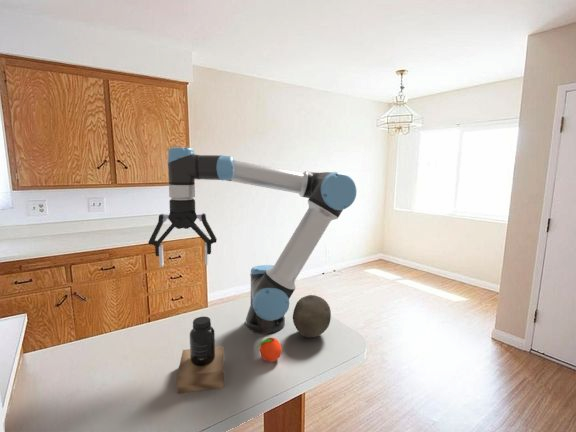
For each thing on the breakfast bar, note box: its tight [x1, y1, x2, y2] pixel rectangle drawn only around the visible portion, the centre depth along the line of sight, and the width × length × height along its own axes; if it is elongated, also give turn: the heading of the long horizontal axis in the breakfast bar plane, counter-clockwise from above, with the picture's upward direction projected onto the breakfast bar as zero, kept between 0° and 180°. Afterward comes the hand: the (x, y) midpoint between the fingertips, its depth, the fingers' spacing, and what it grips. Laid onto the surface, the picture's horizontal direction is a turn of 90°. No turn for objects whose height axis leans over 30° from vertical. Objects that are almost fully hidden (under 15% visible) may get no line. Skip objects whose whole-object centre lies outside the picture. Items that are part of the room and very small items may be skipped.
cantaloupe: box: [292, 294, 332, 338], centre depth 108 cm, size 14×14×15 cm
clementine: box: [256, 337, 282, 363], centre depth 95 cm, size 8×7×7 cm
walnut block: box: [176, 345, 225, 394], centre depth 87 cm, size 12×12×5 cm
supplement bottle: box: [189, 316, 216, 366], centre depth 86 cm, size 7×7×12 cm
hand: (184, 265), depth 96 cm, fingers open, 13 cm apart
